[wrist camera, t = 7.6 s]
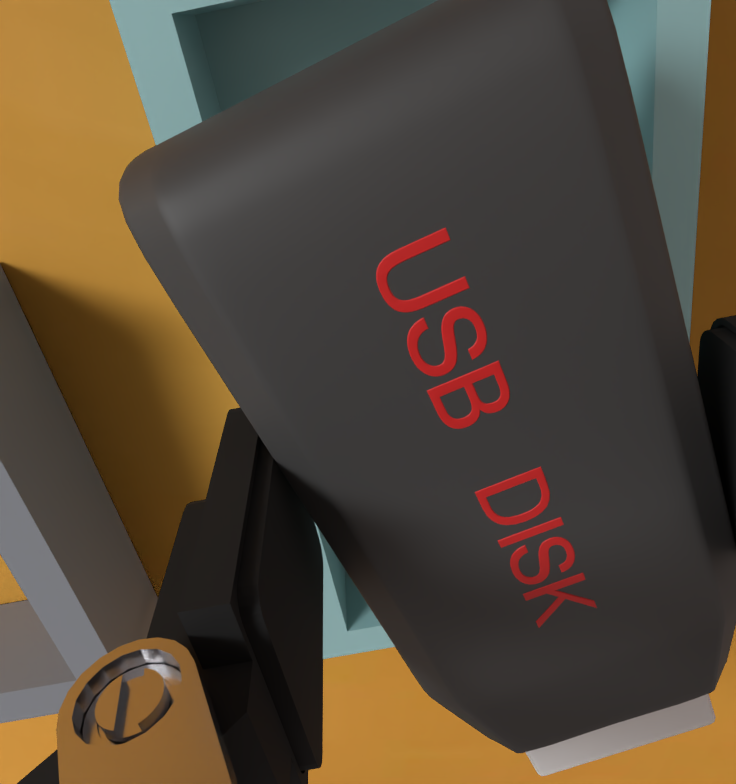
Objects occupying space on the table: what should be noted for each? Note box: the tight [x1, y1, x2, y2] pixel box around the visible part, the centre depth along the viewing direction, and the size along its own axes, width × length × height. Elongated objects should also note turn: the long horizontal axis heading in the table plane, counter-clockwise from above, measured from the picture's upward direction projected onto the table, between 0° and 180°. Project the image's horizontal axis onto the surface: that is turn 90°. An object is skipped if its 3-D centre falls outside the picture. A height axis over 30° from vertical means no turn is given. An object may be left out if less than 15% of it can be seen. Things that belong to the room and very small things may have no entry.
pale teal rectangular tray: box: [109, 0, 711, 659], centre depth 14 cm, size 15×9×2 cm, turn 10°
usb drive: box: [119, 0, 736, 776], centre depth 10 cm, size 5×12×3 cm, turn 24°
